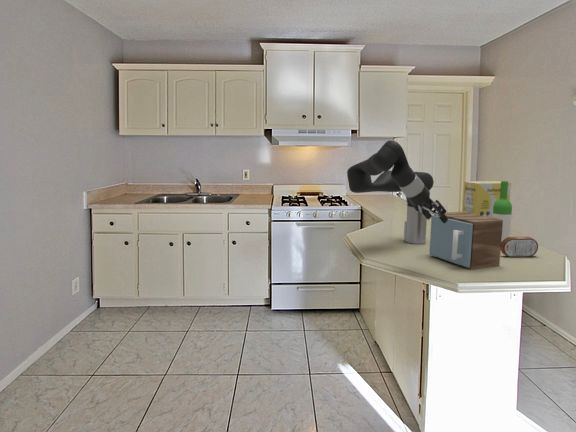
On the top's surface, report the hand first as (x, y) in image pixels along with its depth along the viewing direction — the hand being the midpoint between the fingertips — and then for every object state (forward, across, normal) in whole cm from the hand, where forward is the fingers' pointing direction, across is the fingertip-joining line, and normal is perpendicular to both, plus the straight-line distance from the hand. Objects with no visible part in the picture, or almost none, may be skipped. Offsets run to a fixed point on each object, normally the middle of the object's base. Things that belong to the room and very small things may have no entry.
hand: (437, 219), depth 166 cm
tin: (+46, -3, +20) cm, 50 cm away
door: (+20, -7, -5) cm, 22 cm away
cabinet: (+28, -6, +1) cm, 28 cm away
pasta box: (+56, -36, +30) cm, 73 cm away
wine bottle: (+51, -19, +25) cm, 60 cm away
